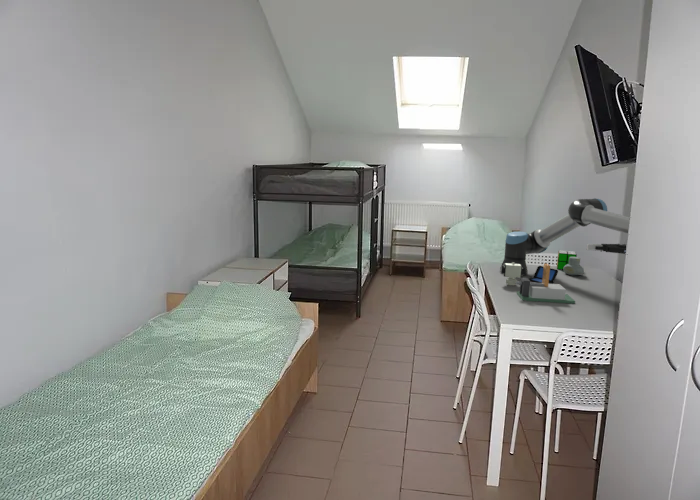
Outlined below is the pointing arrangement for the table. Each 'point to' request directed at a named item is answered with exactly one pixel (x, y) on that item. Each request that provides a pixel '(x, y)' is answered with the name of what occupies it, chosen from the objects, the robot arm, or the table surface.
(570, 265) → the air freshener
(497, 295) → the table surface
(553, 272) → the handheld game console
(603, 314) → the table surface
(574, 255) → the puzzle cube
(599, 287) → the table surface
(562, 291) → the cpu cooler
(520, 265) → the pneumatic valve
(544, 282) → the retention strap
